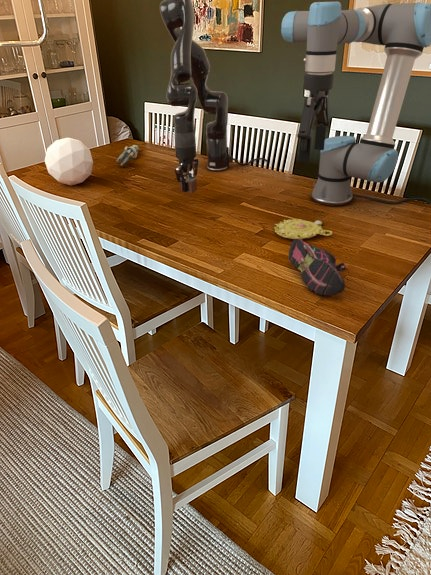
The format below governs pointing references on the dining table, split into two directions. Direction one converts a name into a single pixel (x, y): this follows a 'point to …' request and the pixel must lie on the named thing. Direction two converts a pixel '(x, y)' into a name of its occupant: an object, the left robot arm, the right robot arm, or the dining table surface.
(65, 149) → the sphere
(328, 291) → the athletic shoe
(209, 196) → the dining table surface
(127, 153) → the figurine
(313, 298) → the dining table surface
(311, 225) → the decorative object
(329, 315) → the dining table surface
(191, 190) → the block
